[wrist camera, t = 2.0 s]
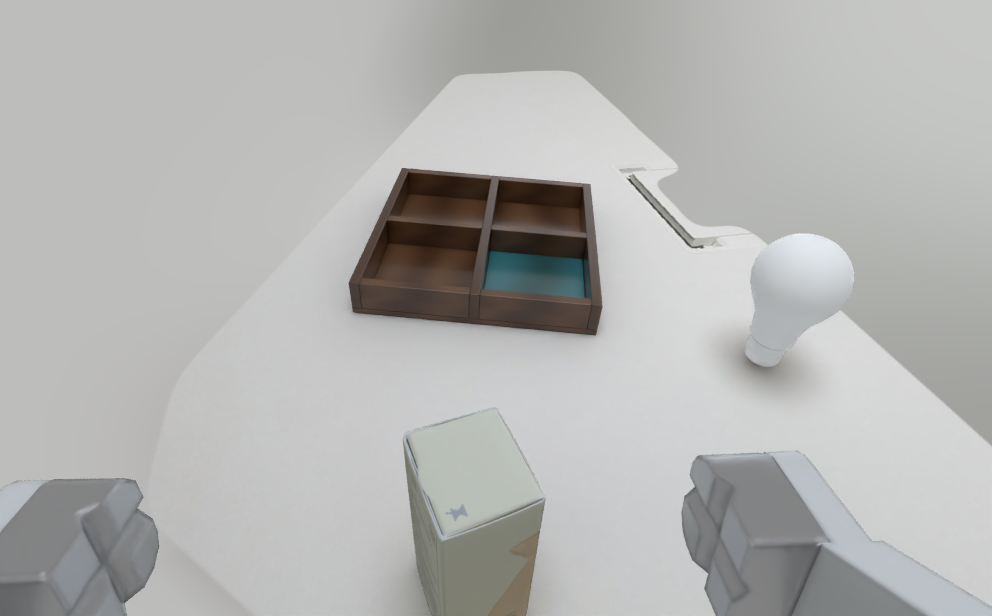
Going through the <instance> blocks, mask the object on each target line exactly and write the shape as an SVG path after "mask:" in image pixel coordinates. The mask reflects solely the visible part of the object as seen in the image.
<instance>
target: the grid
mask: <svg viewBox="0 0 992 616" xmlns="http://www.w3.org/2000/svg"><path fill="white" fill-rule="evenodd" d="M349 288H350V294H351V301H352V308H353V312H358V313H368V314H379V315H390V316H400V317H411V318H422V319H432V320H443V321H454V322H464V323H475V324H486V325H496V326H507V327H518V328H528V329H539V330H550V331H560V332H571V333H582V334H592V335H596V332H597V328H598V323H599V319H600V315H601V310H602V297H601V286H600V276H599V266H598V256H597V246H596V235H595V225H594V215H593V205H592V195H591V185H590V184H584V183H583V184H582V183H572V182H560V181H548V180H537V179H525V178H513V177H502V176H500V177H499V176H489V175H478V174H466V173H454V172H443V171H431V170H419V169H407V168H402V169H401V172H400V174H399V176H398V178H397V180H396V182H395V184H394V187H393V189H392V191H391V193H390V195H389V197H388V200H387V202H386V204H385V206H384V208H383V210H382V212H381V215H380V217H379V219H378V221H377V223H376V225H375V227H374V230H373V232H372V234H371V236H370V238H369V240H368V243H367V245H366V247H365V249H364V251H363V253H362V255H361V258H360V260H359V262H358V264H357V266H356V268H355V270H354V273H353V275H352V277H351V279H350V281H349Z"/></svg>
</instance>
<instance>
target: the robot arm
mask: <svg viewBox="0 0 992 616" xmlns="http://www.w3.org/2000/svg"><path fill="white" fill-rule="evenodd" d="M690 477H691V479H692V481H693V483H694V485H695V487H694V488H693V489H692V490H691V491H690V492H689V493H688V494H687V495H685V497H684V502H683V508H682V526H683V533H684V537H685V541H686V545H687V548H688V550H689V553H690V555H691V558H692V560H693V561H694V562H695V563H696V564H697V565H699V566H700V567H701V568H702V569H704V570H705V571H706V572H707V573H708V577H707V581H706V584H705V588H704V589H705V591H706V594H707V596H708V598H709V601H710V603H711V605H712V608H713V610H714V612H715V615H716V616H992V607H991V606H989V605H988V604H986V603H984V602H983V601H981V600H979V599H978V598H976V597H974V596H973V595H971V594H970V593H968V592H966V591H965V590H963V589H961V588H960V587H958V586H956V585H955V584H953V583H951V582H950V581H948V580H947V579H945V578H943V577H942V576H940V575H938V574H937V573H935V572H933V571H932V570H930V569H928V568H927V567H925V566H924V565H922V564H920V563H919V562H917V561H915V560H914V559H912V558H910V557H909V556H907V555H905V554H904V553H902V552H901V551H899V550H897V549H896V548H894V547H892V546H891V545H889V544H887V543H886V542H884V541H872V540H871V539H870V538H869V536H868V535H867V534H866V532H865V531H864V530H863V528H862V527H861V526H860V525H859V523H858V522H857V521H856V519H855V518H854V517H853V516H852V514H851V513H850V512H849V510H848V509H847V508H846V507H845V505H844V504H843V503H842V501H841V500H840V499H839V498H838V496H837V495H836V494H835V492H834V491H833V490H832V488H831V487H830V486H829V485H828V483H827V482H826V481H825V479H824V478H823V477H822V476H821V474H820V473H819V472H818V470H817V469H816V468H815V467H814V465H813V464H812V463H811V461H810V460H809V459H808V458H807V456H806V455H804V454H802V453H801V452H799V451H780V452H764V453H741V454H721V455H700V456H697V457H696V459H695V460H694V461H693V463H692V467H691V471H690ZM142 499H143V495H142V493H141V491H140V489H139V487H138V485H137V483H136V481H135V480H131V479H125V478H121V479H120V478H115V479H54V480H34V481H33V480H32V481H31V480H28V481H15V482H13V483H11V484H9V485H6V486H4V487H2V488H1V489H0V616H127V613H126V608H125V604H124V603H125V602H126V601H128V600H129V599H130V598H131V597H133V596H134V595H135V594H136V593H138V592H139V591H140V590H141V589H143V588H144V587H145V585H146V583H147V581H148V579H149V577H150V575H151V573H152V571H153V569H154V566H155V562H156V557H157V553H158V549H159V541H158V531H157V528H156V526H155V523H154V521H153V519H152V518H151V517H149V516H148V515H146V514H144V513H143V512H142V511H140V510H139V509H137V507H138V506H139V504H140V502H141V501H142Z"/></svg>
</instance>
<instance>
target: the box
mask: <svg viewBox="0 0 992 616" xmlns="http://www.w3.org/2000/svg"><path fill="white" fill-rule="evenodd" d="M403 446H404V456H405V466H406V474H407V483H408V492H409V500H410V509H411V518H412V527H413V536H414V544H415V553H416V562H417V568H418V571H419V575H420V579H421V583H422V586H423V589H424V593H425V596H426V599H427V602H428V605H429V608H430V611H431V614H432V616H526V613H527V607H528V601H529V595H530V588H531V582H532V577H533V570H534V564H535V558H536V552H537V545H538V539H539V534H540V528H541V522H542V515H543V510H544V504H545V496H544V493H543V491H542V490H541V488H540V485H539V483H538V481H537V480H536V478H535V476H534V473H533V472H532V470H531V468H530V466H529V464H528V462H527V460H526V458H525V456H524V455H523V453H522V451H521V449H520V447H519V446H518V444H517V442H516V440H515V438H514V437H513V435H512V433H511V431H510V429H509V428H508V426H507V424H506V422H505V421H504V419H503V417H502V416H501V414H500V412H499V410H498V409H497V408H490V409H486V410H482V411H479V412H475V413H472V414H468V415H464V416H460V417H457V418H453V419H450V420H447V421H443V422H439V423H436V424H432V425H429V426H425V427H422V428H419V429H415V430H412V431H408V432H406V433H405V434H404V436H403Z"/></svg>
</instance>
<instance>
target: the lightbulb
mask: <svg viewBox="0 0 992 616" xmlns="http://www.w3.org/2000/svg"><path fill="white" fill-rule="evenodd" d="M750 283H751V290H752V296H753V300H754V304H755V311H754V317H753V321H752V323H751V326H750V332H751V333H750V336H749V338H748V341H747V344H746V347H745V353H746V355H747V357H748V358H749V359H750V360H751V361H752V362H753V363H755V364H757V365H760V366H764V367H771V366H774V365H776V364H778V362H779V361H780V359H781V358H782V357H783V355H784V354H785V352H786V350H787V349H789V348H790V347H792V346H793V345H794V343H795V342H796V340H797V339H798V338H799V337H800V336H801V334H802V333H803V332H804V331H806V330H807V329H808V328H810V327H811V326H813V325H816V324H818V323H820V322H822V321H824V320H826V319H827V318H829V317H831V316H833V315H834V314H836V313H837V312H838V311H839V310H840V309H841V308H842V307H843V306H844V305H845V304H846V302H847V301H848V299H849V297H850V296H851V293H852V290H853V286H854V271H853V267H852V263H851V261H850V259H849V257H848V255H847V254H846V253H845V252H844V250H843V249H842V248H841V247H840V246H838V245H837V244H836V243H834V242H833V241H831V240H829V239H827V238H825V237H822V236H818V235H814V234H805V233H803V234H793V235H788V236H785V237H782V238H780V239H778V240H776V241H774V242H773V243H771V244H769V245H768V246H767V247H766V248H765V249H764V250H763V251H762V252H761V253H760V254H759V256H758V257H757V258H756V260H755V262H754V265H753V267H752V270H751V277H750Z"/></svg>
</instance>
